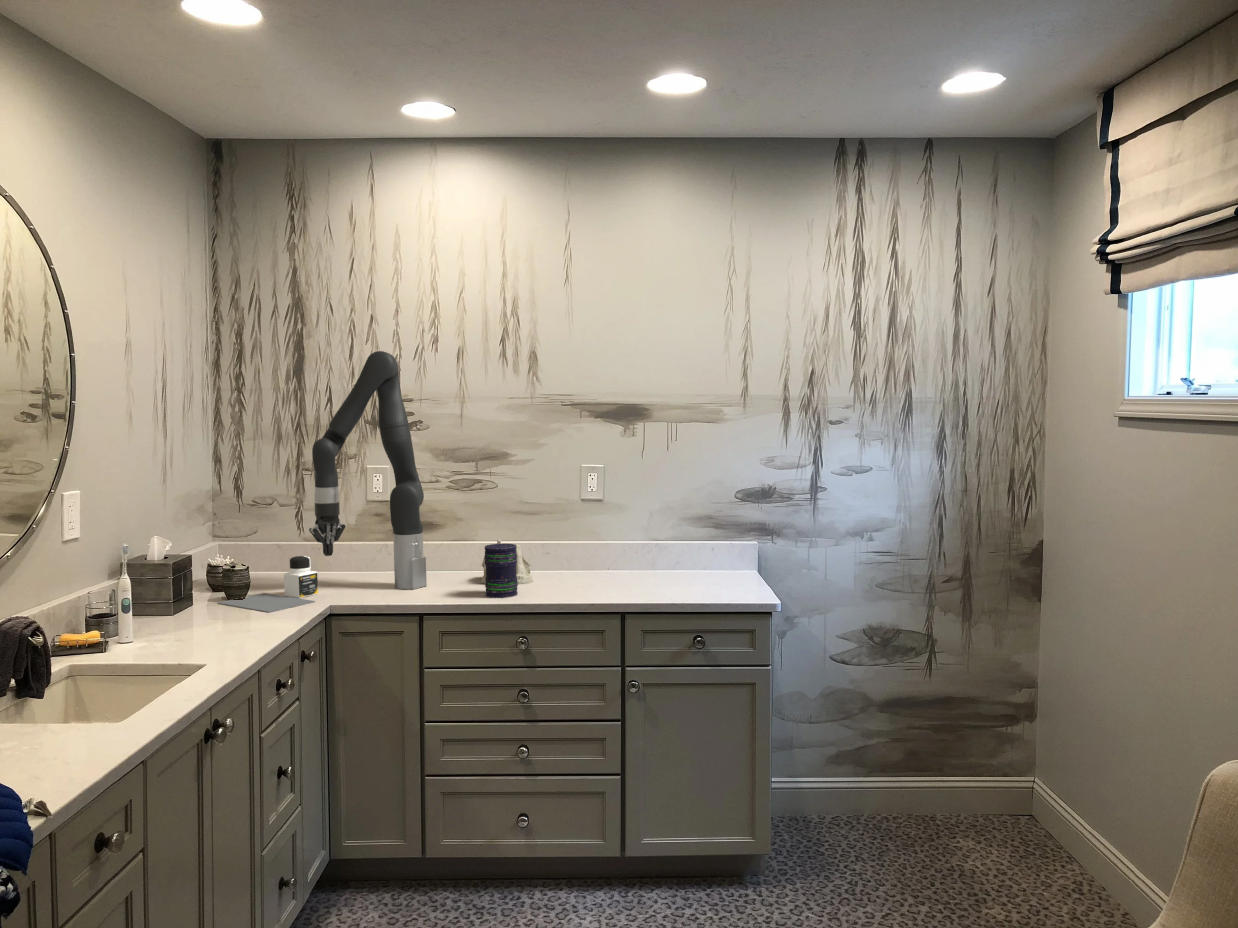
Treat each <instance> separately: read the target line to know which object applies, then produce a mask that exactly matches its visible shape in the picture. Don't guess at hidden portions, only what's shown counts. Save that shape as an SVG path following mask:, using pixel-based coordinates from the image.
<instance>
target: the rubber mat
mask: <svg viewBox="0 0 1238 928" xmlns="http://www.w3.org/2000/svg"><path fill="white" fill-rule="evenodd" d="M246 597H247V596H246ZM313 603H316V600H311V599H304V598H294V597H288V596H285V595H279V594H275V593H274V594H273V593H269V592H268V593H267V592H263V593H258V594H252V595H248V597H247V598H246V599H243V600H233V599H229V600H225V601H224V600H223V601H219V602H217V604H218V605H223V606H228V607H235V608H241V609H246V610H251V611H252V610H253V611H258V612H261V613H262V612H263V613H268V614H269V613H274V612H278V611H282V610H287V609H291V608H295V607H299V606H303V605H305V606H306V605H308V604H313Z"/></svg>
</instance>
